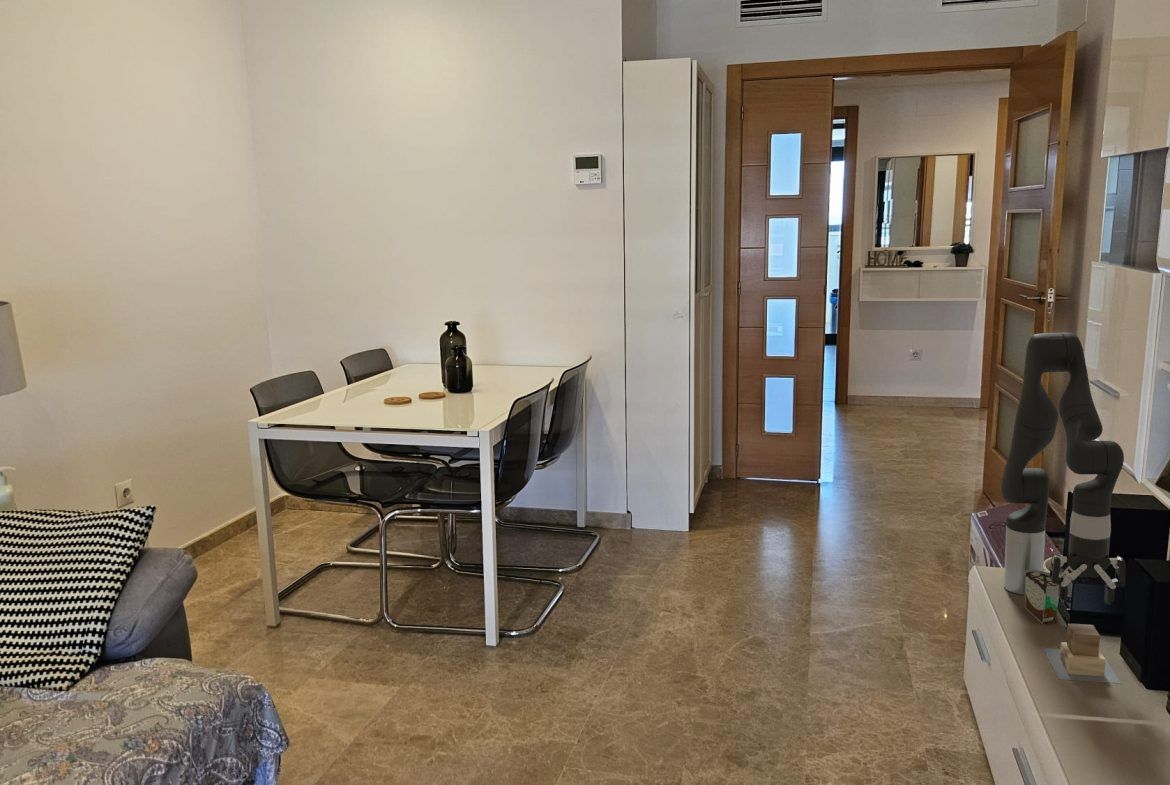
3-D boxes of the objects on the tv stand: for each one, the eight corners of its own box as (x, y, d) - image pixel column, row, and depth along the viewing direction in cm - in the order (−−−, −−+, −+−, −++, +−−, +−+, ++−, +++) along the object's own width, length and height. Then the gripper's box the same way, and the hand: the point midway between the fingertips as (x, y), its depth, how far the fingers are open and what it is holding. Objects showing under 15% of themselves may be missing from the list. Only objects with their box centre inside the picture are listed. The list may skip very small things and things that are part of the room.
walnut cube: (1066, 644, 199) (1067, 623, 198) (1091, 645, 198) (1092, 624, 197) (1072, 655, 194) (1074, 633, 193) (1098, 656, 193) (1099, 635, 192)
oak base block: (1060, 658, 201) (1060, 642, 200) (1094, 660, 199) (1095, 643, 199) (1068, 674, 194) (1069, 657, 194) (1104, 676, 193) (1105, 659, 192)
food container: (1071, 626, 217) (1073, 587, 215) (1045, 627, 217) (1047, 588, 215) (1046, 604, 229) (1048, 567, 227) (1022, 605, 229) (1023, 568, 227)
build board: (1042, 650, 206) (1042, 648, 206) (1100, 653, 203) (1100, 651, 203) (1058, 681, 193) (1058, 679, 193) (1120, 685, 190) (1121, 683, 190)
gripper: (1121, 526, 192) (1116, 596, 196) (1048, 524, 196) (1045, 593, 199) (1133, 539, 185) (1127, 611, 189) (1057, 536, 189) (1053, 607, 192)
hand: (1085, 601), depth 194 cm, fingers open, 8 cm apart
